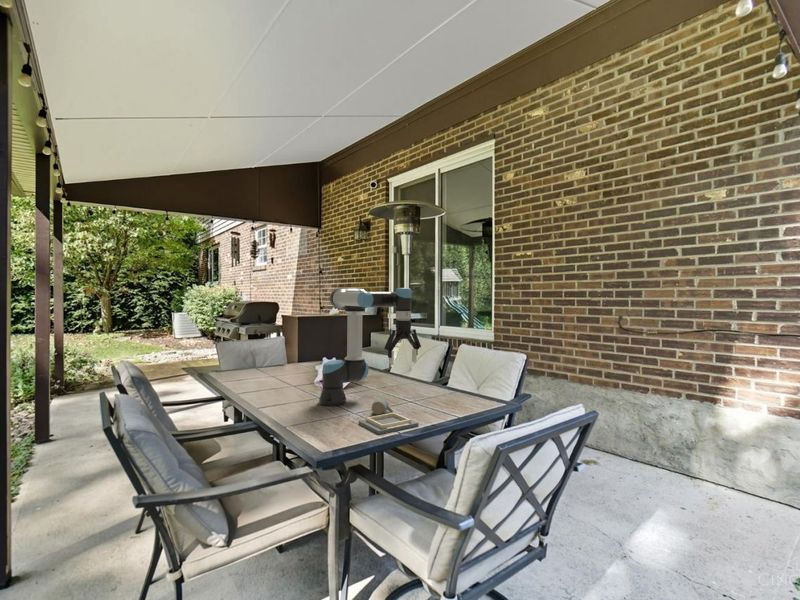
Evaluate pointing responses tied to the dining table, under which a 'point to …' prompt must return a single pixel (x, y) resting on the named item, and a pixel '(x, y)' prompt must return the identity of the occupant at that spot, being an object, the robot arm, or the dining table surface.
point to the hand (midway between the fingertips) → (402, 363)
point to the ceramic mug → (381, 406)
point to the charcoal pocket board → (387, 423)
